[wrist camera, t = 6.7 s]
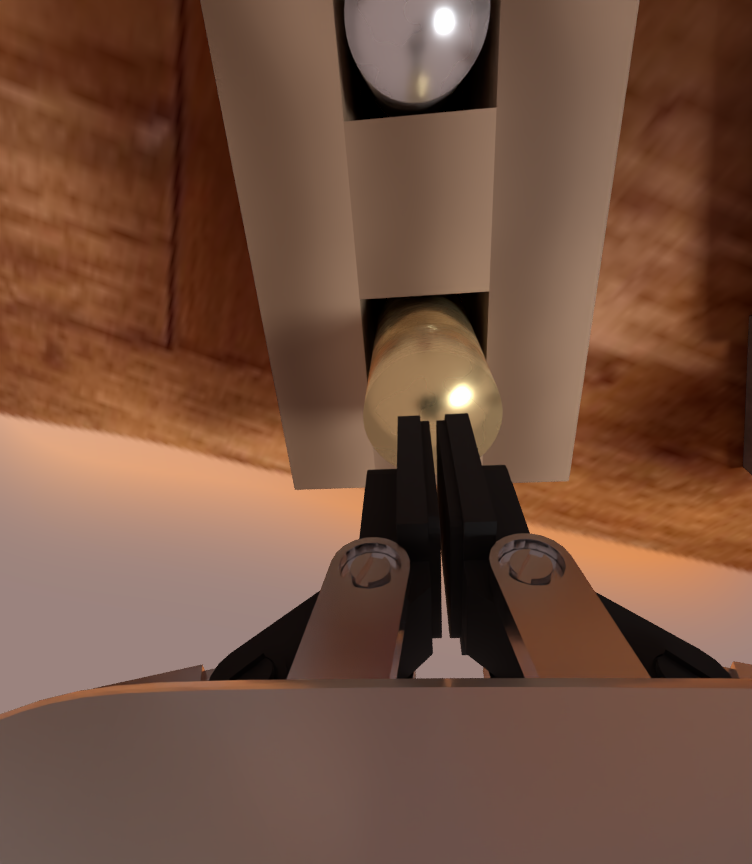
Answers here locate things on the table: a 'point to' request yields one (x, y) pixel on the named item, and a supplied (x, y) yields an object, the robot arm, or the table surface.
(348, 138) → the socket block
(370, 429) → the brass peg
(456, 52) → the steel peg
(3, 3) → the table surface
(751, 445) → the kitchen knife
